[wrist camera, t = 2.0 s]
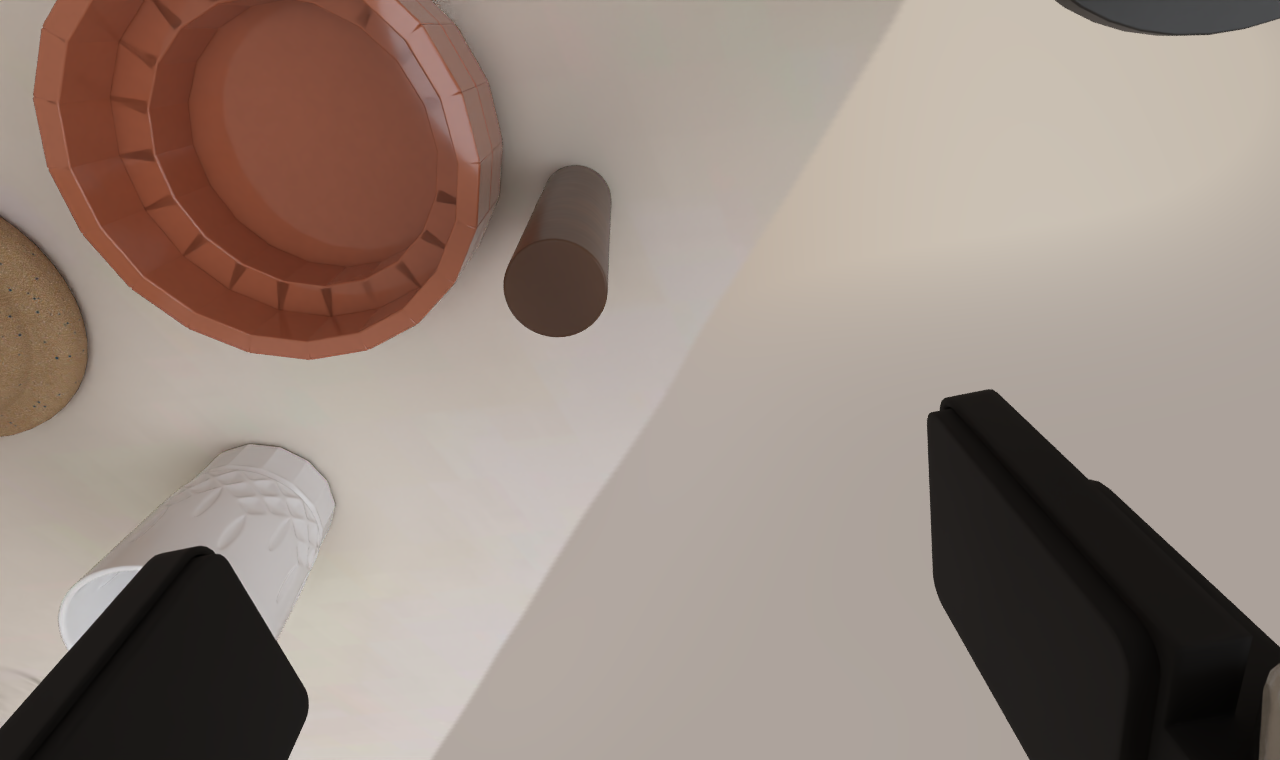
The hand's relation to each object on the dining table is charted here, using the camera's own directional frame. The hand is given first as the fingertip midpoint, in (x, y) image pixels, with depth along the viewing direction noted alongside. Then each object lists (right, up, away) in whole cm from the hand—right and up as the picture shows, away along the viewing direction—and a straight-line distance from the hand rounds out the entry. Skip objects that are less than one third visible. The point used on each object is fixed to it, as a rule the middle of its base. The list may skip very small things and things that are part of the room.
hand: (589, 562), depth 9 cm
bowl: (-12, +12, +20) cm, 27 cm away
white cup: (-19, -4, +28) cm, 34 cm away
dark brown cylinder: (-2, +10, +22) cm, 24 cm away
